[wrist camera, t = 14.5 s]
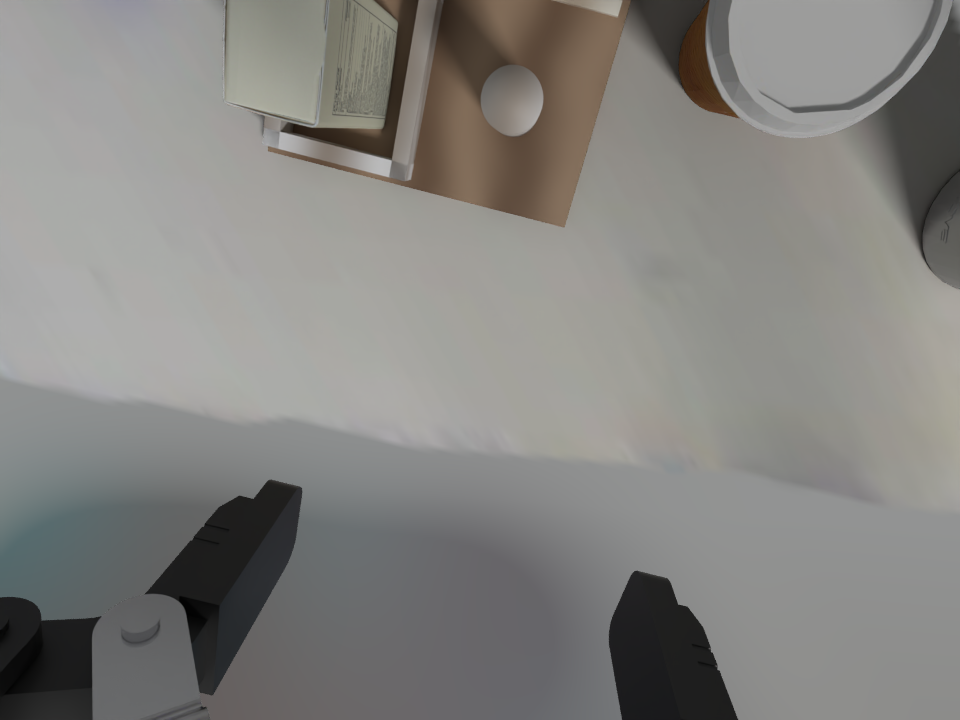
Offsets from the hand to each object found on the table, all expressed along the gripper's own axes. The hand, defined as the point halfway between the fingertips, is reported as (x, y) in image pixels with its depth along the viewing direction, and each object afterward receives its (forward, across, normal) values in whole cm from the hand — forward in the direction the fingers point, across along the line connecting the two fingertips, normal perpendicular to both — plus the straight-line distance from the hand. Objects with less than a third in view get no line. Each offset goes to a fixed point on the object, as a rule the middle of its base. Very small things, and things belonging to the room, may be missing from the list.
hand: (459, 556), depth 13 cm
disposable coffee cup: (+28, -10, -17) cm, 34 cm away
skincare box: (+27, +12, -11) cm, 31 cm away
